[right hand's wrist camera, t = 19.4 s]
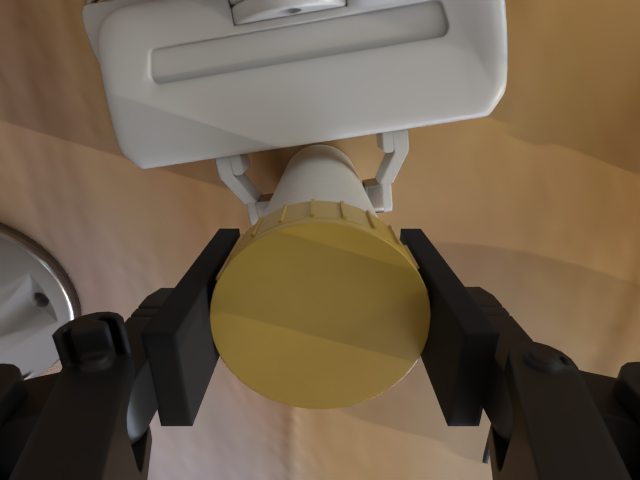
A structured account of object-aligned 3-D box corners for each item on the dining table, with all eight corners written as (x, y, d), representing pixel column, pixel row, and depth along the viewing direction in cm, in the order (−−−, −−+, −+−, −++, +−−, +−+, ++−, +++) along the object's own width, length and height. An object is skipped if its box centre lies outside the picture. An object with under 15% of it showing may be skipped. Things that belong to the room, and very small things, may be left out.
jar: (362, 207, 28) (423, 368, 11) (294, 222, 29) (257, 399, 12) (348, 136, 26) (398, 207, 9) (275, 154, 27) (200, 250, 10)
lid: (357, 157, 10) (366, 171, 8) (446, 316, 12) (469, 357, 11) (185, 260, 12) (158, 293, 10) (292, 389, 14) (287, 438, 12)
